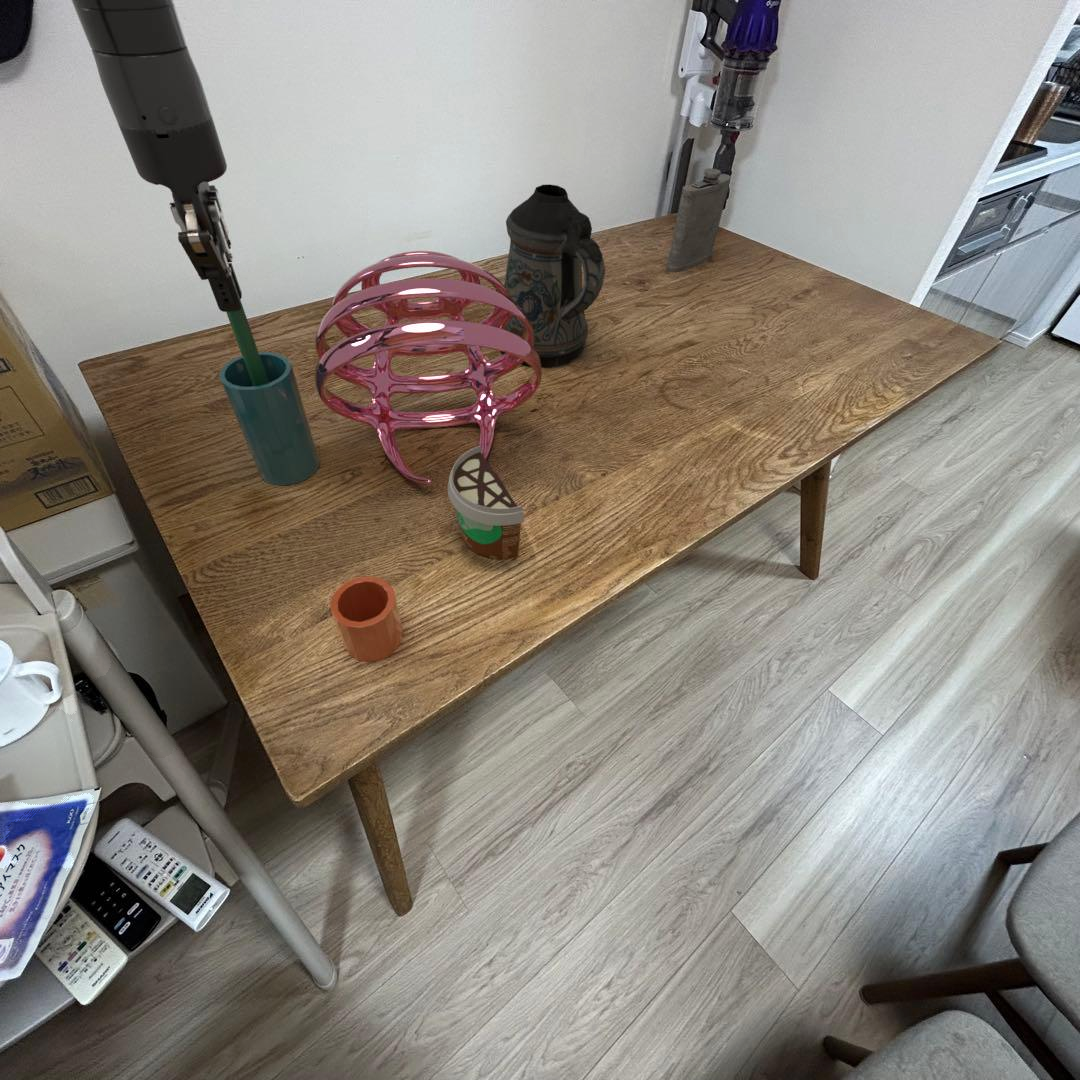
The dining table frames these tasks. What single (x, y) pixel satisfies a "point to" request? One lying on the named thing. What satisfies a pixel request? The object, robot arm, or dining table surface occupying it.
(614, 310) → the dining table surface
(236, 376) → the teal cylindrical cup
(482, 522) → the food container
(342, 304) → the spiral basket
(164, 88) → the robot arm
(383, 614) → the cup
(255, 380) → the bottle brush
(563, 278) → the beer stein
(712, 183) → the flask
